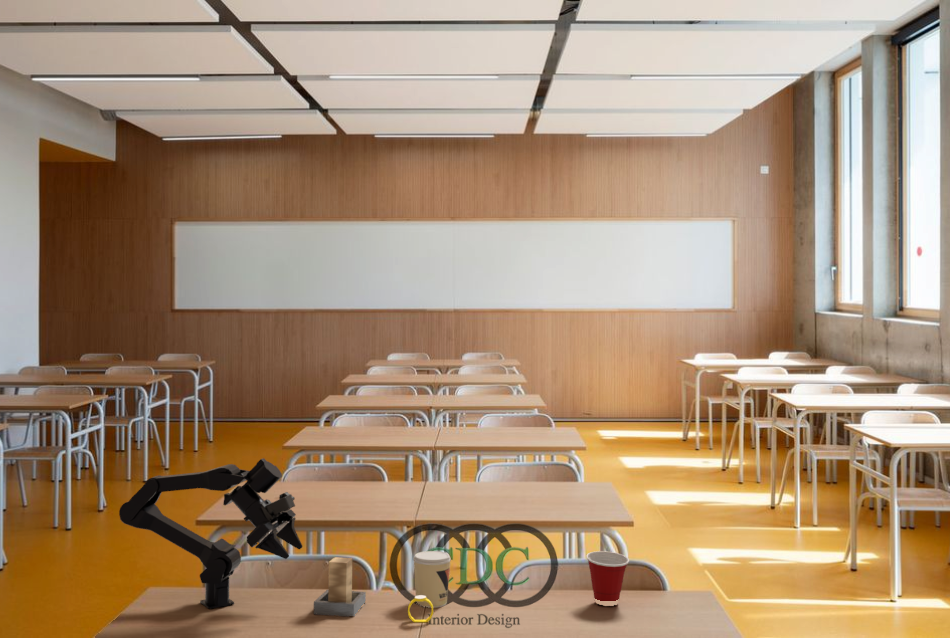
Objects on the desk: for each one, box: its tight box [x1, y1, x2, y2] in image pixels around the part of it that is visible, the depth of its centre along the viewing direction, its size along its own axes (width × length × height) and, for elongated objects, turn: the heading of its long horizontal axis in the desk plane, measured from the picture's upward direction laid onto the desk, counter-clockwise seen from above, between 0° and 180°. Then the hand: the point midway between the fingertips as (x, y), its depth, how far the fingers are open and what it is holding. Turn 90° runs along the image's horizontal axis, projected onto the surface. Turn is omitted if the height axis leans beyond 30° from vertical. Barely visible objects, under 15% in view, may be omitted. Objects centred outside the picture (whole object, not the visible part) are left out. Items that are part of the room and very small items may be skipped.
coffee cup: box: [413, 550, 451, 609], centre depth 220 cm, size 9×9×12 cm
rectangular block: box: [327, 556, 353, 603], centre depth 214 cm, size 4×4×12 cm
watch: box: [407, 595, 434, 624], centre depth 206 cm, size 6×3×6 cm, turn 93°
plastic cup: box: [586, 550, 630, 601], centre depth 221 cm, size 11×11×12 cm
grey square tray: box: [313, 589, 367, 617], centre depth 214 cm, size 10×10×3 cm
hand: (294, 552), depth 215 cm, fingers open, 9 cm apart
